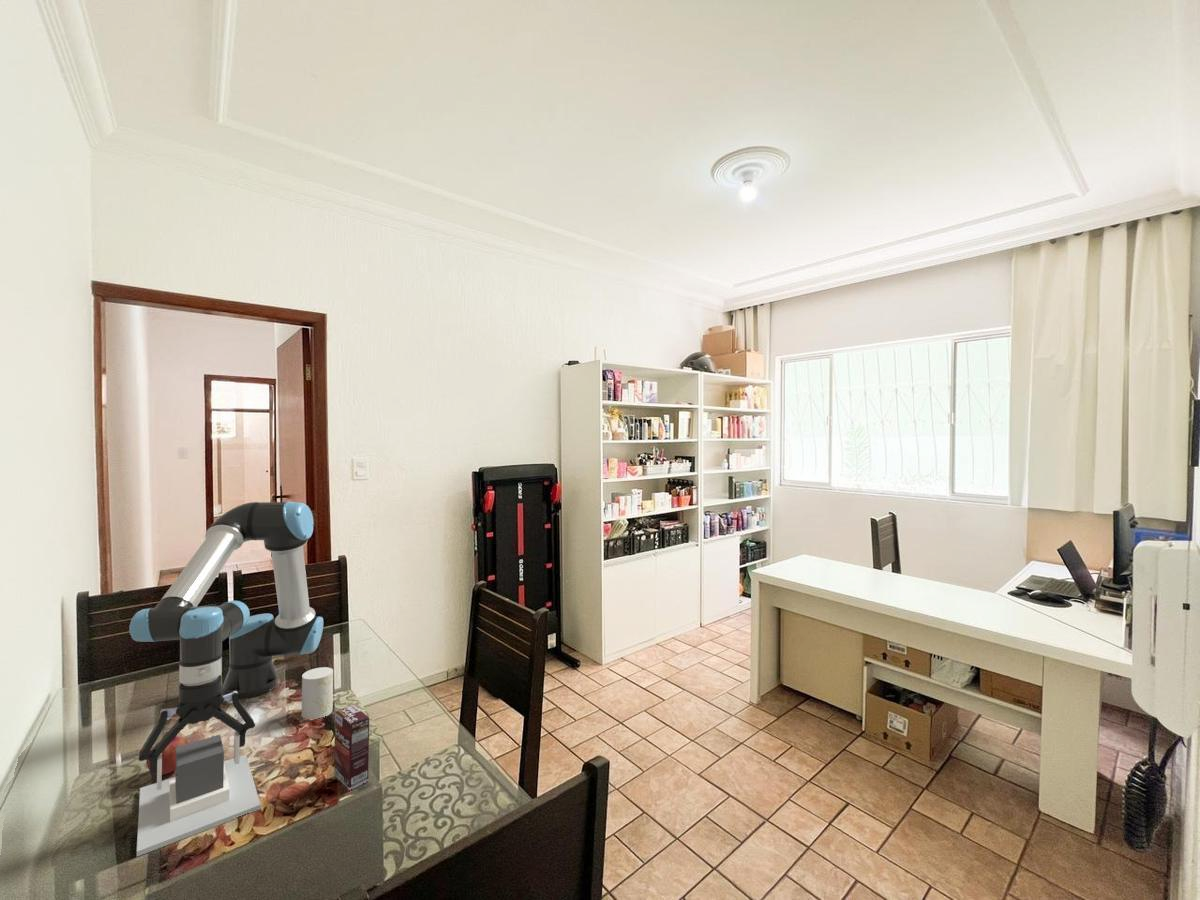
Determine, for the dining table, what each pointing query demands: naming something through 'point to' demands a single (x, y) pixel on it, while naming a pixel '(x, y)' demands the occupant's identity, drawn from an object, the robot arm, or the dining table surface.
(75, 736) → the dining table surface
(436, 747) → the dining table surface
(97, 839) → the dining table surface
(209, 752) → the plug
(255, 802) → the socket
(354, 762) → the supplement box
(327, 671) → the white cylinder
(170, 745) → the fruit
